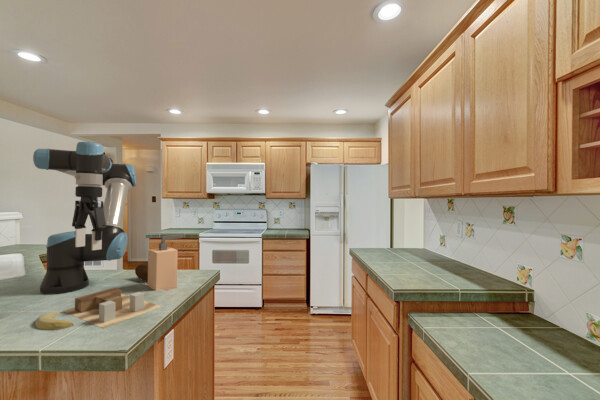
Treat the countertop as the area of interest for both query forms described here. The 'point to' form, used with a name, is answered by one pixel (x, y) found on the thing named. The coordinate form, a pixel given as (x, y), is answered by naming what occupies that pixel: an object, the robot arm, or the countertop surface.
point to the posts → (109, 307)
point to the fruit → (52, 322)
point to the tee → (98, 300)
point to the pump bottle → (163, 265)
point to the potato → (142, 271)
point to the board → (120, 315)
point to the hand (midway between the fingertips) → (88, 248)
